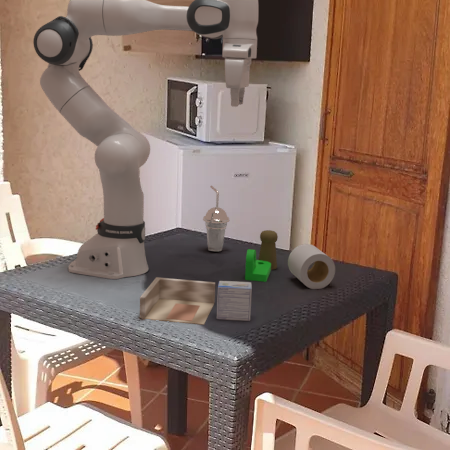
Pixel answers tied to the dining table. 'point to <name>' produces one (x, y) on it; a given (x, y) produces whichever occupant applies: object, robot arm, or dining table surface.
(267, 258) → the cork
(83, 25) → the robot arm
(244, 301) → the medicine box
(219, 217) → the cup with straw
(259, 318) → the dining table surface
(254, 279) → the mechanical part
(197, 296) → the arena
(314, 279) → the toilet paper
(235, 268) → the dining table surface
